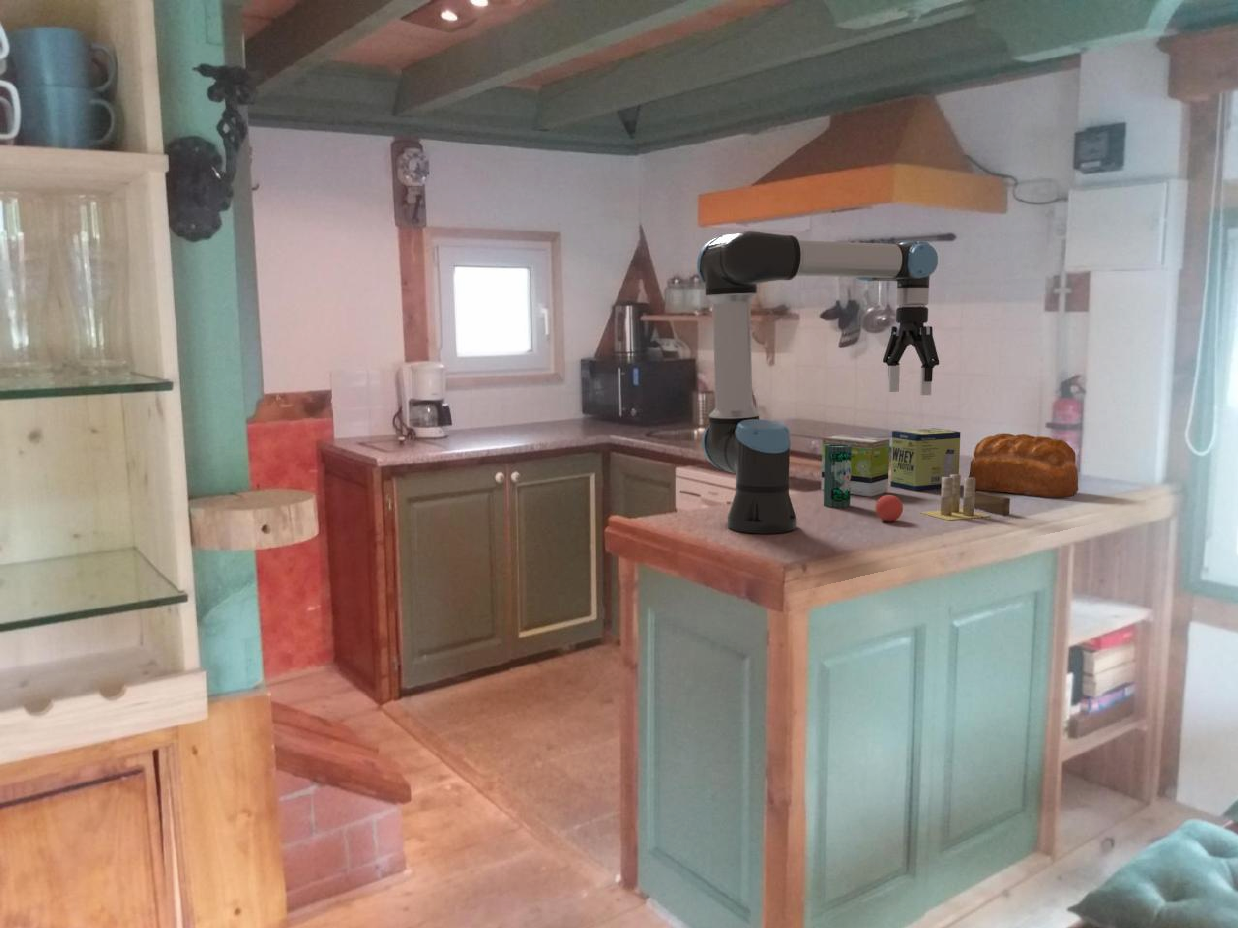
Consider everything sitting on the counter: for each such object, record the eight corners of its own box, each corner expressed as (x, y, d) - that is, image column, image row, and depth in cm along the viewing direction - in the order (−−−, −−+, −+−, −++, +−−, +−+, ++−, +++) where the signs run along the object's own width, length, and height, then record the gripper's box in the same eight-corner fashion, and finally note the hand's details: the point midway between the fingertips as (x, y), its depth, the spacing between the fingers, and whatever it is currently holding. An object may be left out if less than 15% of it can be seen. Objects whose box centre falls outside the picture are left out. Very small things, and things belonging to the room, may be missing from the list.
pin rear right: (967, 517, 225) (969, 479, 224) (960, 515, 227) (962, 477, 226) (976, 516, 226) (977, 478, 224) (968, 514, 228) (970, 477, 227)
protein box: (889, 486, 270) (890, 430, 268) (932, 482, 276) (934, 427, 274) (915, 492, 260) (917, 434, 258) (959, 487, 267) (962, 431, 265)
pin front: (945, 516, 226) (946, 478, 224) (938, 515, 228) (939, 477, 227) (953, 516, 227) (955, 478, 225) (946, 514, 229) (948, 476, 227)
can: (838, 508, 237) (839, 447, 235) (819, 505, 242) (820, 445, 240) (854, 506, 240) (856, 445, 238) (835, 502, 245) (837, 443, 243)
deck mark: (948, 520, 221) (948, 519, 221) (920, 513, 231) (920, 512, 231) (990, 516, 226) (990, 515, 226) (960, 509, 235) (961, 508, 235)
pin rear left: (953, 513, 229) (954, 476, 228) (946, 512, 232) (947, 474, 230) (961, 513, 230) (962, 475, 229) (954, 511, 233) (956, 474, 231)
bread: (1062, 501, 246) (1066, 440, 244) (962, 489, 264) (964, 433, 262) (1082, 493, 256) (1085, 435, 254) (983, 483, 274) (986, 428, 272)
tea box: (820, 491, 263) (821, 436, 261) (839, 486, 270) (840, 433, 268) (870, 497, 253) (872, 440, 251) (889, 492, 260) (890, 437, 258)
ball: (885, 524, 218) (886, 498, 217) (869, 519, 223) (870, 493, 222) (907, 522, 220) (908, 496, 219) (891, 517, 225) (892, 492, 225)
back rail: (1002, 515, 227) (1003, 498, 226) (972, 508, 236) (973, 492, 235) (1009, 514, 227) (1009, 498, 227) (979, 507, 237) (980, 491, 236)
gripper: (957, 305, 227) (953, 396, 230) (896, 307, 250) (893, 390, 253) (929, 305, 224) (925, 397, 227) (871, 307, 248) (868, 390, 251)
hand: (908, 393), depth 240 cm, fingers open, 13 cm apart
